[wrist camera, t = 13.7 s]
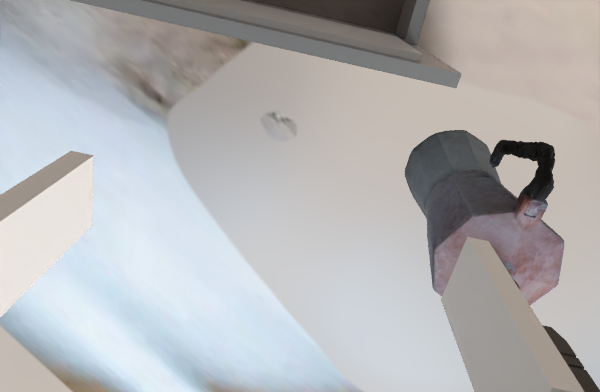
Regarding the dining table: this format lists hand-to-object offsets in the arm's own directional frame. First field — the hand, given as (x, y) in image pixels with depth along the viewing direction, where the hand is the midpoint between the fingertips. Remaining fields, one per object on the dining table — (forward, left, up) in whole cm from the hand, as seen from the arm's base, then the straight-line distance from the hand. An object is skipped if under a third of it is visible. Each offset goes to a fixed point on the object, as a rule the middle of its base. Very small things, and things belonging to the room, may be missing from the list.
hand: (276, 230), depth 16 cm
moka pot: (+16, -6, -32) cm, 36 cm away
